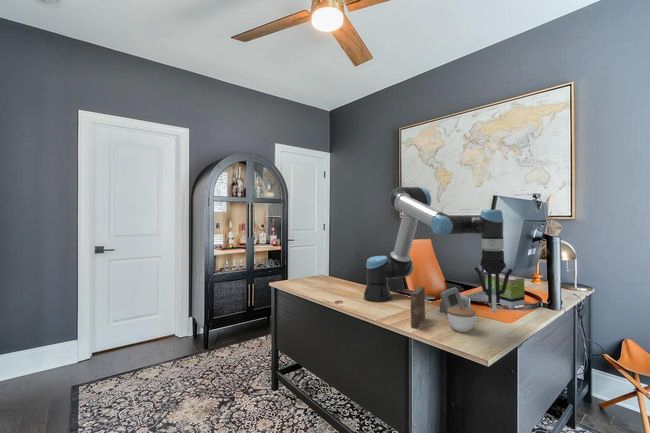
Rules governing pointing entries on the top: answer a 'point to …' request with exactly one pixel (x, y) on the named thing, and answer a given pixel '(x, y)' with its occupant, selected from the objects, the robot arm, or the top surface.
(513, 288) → the tea box
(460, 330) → the lidded jar
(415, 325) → the walnut board
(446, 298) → the digital clock
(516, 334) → the top surface
